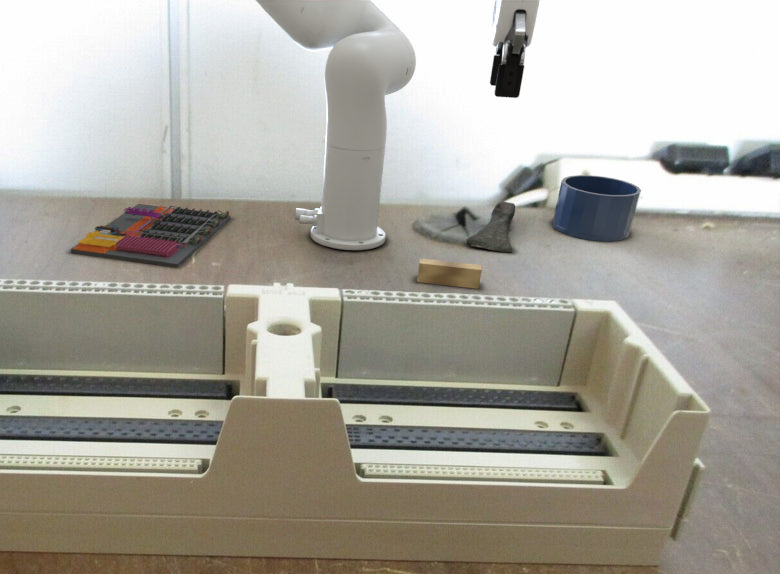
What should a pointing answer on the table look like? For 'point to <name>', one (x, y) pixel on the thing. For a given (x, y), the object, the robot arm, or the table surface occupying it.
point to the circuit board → (153, 235)
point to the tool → (495, 230)
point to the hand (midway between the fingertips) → (503, 91)
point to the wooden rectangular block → (449, 273)
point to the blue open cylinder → (596, 207)
